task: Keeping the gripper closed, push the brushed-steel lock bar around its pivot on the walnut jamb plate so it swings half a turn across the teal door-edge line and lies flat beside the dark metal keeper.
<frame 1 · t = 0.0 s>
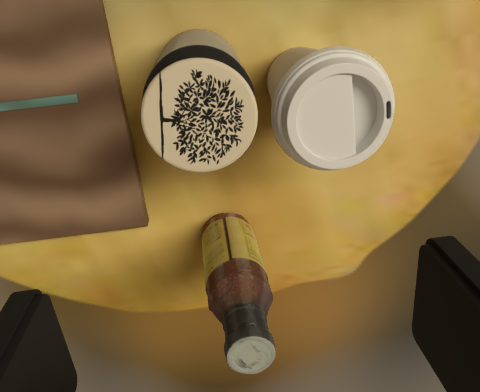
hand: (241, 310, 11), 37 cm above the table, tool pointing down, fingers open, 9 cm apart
travel mug: (199, 70, 44), on the table
coffee cup: (297, 79, 46), on the table
jamb plate: (21, 101, 44), on the table
sauce bottle: (228, 231, 53), on the table
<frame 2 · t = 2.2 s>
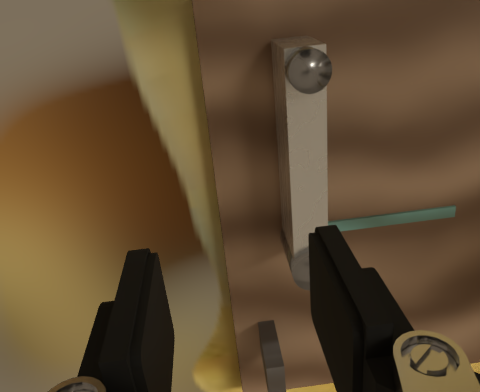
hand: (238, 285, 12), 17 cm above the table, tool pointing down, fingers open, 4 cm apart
lock bar: (302, 170, 25), point 4 cm above the table, hinge at 0.0°
jamb plate: (361, 211, 31), on the table
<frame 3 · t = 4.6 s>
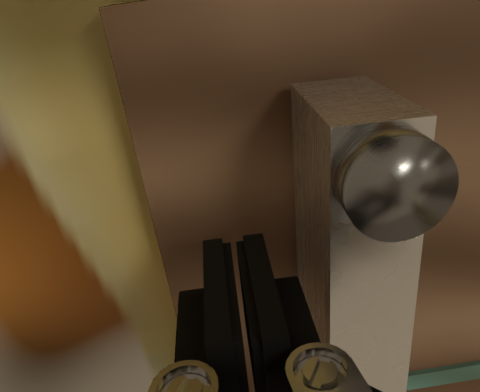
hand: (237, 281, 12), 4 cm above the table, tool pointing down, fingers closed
lock bar: (350, 341, 12), point 4 cm above the table, hinge at 2.6°, touching gripper
jamb plate: (429, 345, 19), on the table
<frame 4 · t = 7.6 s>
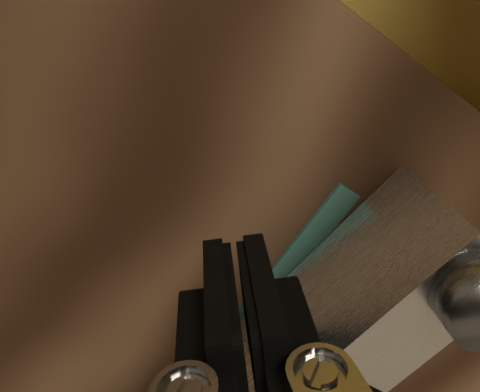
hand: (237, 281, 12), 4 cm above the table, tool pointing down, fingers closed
lock bar: (283, 384, 13), point 5 cm above the table, hinge at 97.4°, touching gripper
jamb plate: (238, 293, 17), on the table
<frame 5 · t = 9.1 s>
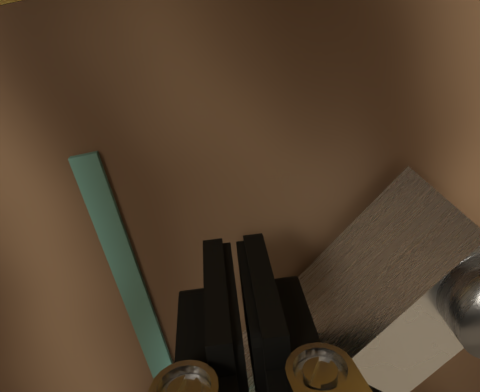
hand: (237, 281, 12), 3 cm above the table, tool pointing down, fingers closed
jamb plate: (149, 290, 16), on the table
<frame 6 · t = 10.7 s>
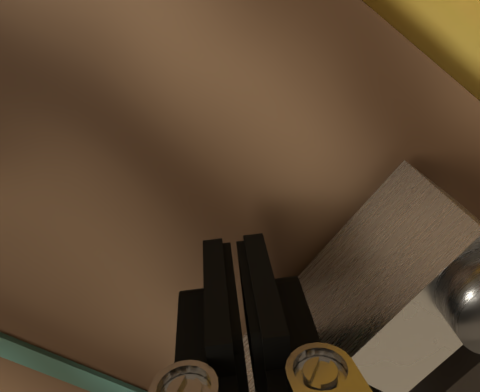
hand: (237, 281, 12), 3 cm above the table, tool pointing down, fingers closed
jamb plate: (80, 339, 17), on the table
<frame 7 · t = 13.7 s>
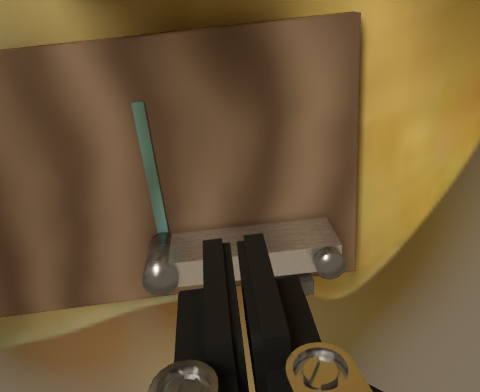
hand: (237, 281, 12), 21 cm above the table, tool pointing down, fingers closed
lock bar: (241, 255, 32), point 5 cm above the table, hinge at 181.3°
jamb plate: (155, 175, 33), on the table
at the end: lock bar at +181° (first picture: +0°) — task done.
